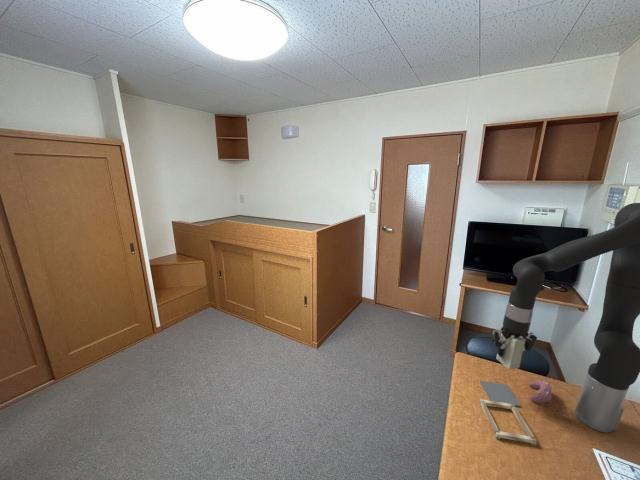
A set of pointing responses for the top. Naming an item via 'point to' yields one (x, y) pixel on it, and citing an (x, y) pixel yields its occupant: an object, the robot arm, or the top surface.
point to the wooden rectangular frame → (499, 434)
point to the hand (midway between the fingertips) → (508, 356)
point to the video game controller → (541, 392)
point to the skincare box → (512, 353)
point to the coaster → (499, 393)
